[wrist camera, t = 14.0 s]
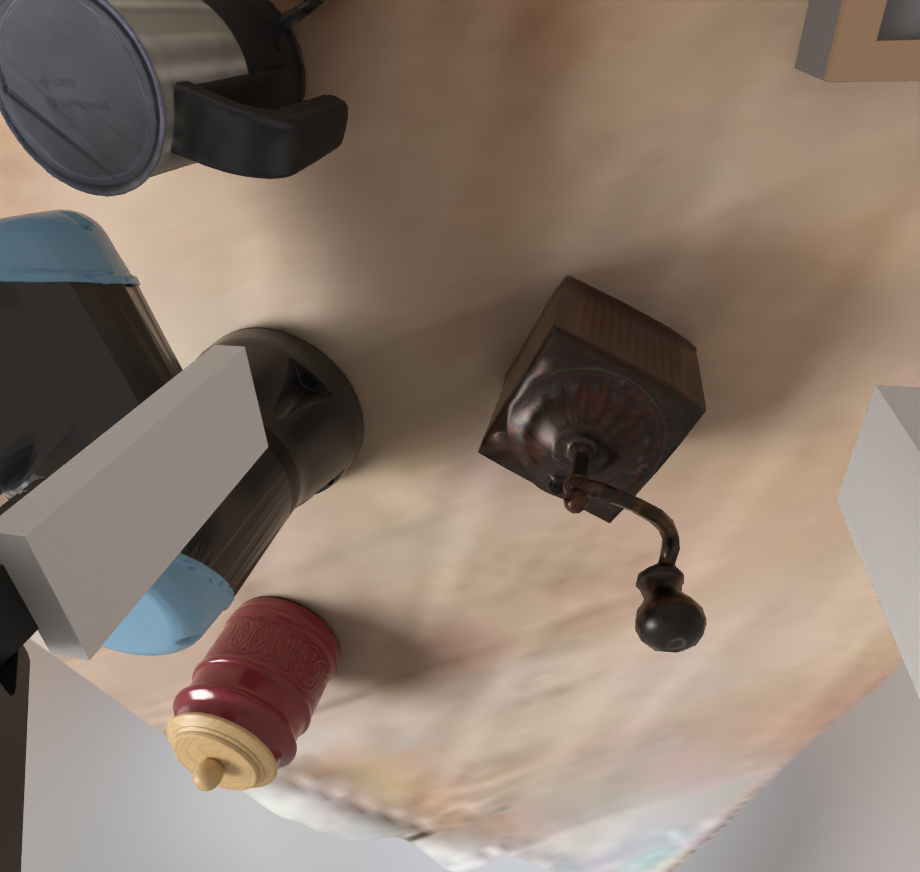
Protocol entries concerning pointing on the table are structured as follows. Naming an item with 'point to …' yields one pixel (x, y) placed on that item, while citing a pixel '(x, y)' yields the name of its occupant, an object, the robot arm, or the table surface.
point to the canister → (253, 695)
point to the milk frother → (160, 89)
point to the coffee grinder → (605, 429)
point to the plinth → (861, 40)
